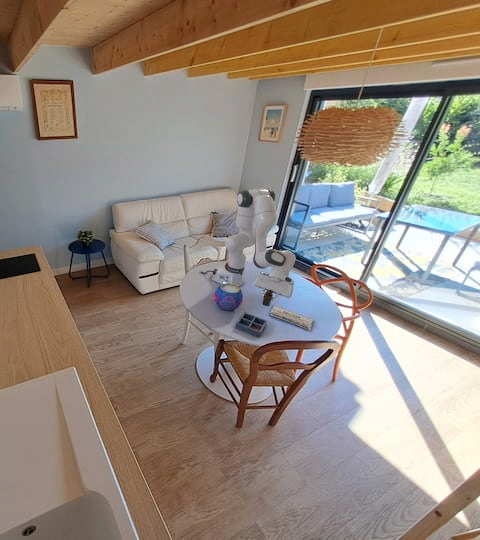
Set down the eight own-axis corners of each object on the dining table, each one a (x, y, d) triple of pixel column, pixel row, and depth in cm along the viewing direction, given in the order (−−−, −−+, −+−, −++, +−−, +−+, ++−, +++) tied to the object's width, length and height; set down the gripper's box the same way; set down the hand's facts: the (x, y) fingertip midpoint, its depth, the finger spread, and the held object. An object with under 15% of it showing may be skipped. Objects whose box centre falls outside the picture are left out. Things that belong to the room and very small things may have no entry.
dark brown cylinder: (261, 304, 164) (265, 290, 159) (263, 301, 166) (267, 287, 162) (268, 307, 161) (273, 292, 157) (270, 303, 164) (274, 289, 159)
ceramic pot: (239, 301, 192) (244, 282, 185) (240, 317, 178) (245, 297, 170) (213, 296, 197) (216, 278, 190) (211, 312, 183) (215, 292, 175)
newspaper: (268, 315, 179) (269, 312, 178) (274, 308, 187) (275, 305, 186) (309, 331, 165) (310, 328, 164) (313, 323, 174) (314, 319, 173)
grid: (235, 327, 169) (236, 323, 168) (243, 316, 178) (244, 312, 177) (258, 337, 162) (260, 332, 160) (265, 325, 171) (267, 320, 169)
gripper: (258, 269, 167) (248, 289, 165) (297, 281, 154) (286, 304, 153) (260, 273, 171) (250, 293, 170) (297, 285, 159) (286, 307, 158)
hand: (267, 298), depth 161 cm, fingers closed on dark brown cylinder, 4 cm apart
